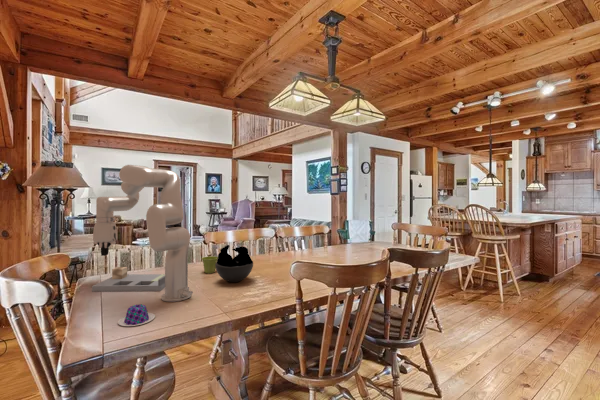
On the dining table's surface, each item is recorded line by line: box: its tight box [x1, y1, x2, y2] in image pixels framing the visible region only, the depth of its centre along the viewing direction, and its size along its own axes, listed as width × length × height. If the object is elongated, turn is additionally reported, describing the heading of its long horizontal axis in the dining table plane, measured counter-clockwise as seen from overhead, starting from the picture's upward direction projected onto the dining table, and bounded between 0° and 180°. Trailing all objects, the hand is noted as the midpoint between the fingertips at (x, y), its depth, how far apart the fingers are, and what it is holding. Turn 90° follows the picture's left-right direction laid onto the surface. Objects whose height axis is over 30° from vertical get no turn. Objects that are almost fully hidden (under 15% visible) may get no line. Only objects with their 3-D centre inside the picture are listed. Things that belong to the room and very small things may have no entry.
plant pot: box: [201, 255, 218, 274], centre depth 178 cm, size 9×9×9 cm
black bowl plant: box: [215, 244, 254, 283], centre depth 160 cm, size 20×20×19 cm
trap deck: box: [91, 273, 165, 292], centre depth 153 cm, size 32×21×6 cm, turn 92°
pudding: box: [117, 303, 156, 327], centre depth 110 cm, size 12×12×5 cm
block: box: [111, 266, 128, 279], centre depth 156 cm, size 5×5×5 cm
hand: (104, 255), depth 156 cm, fingers closed
